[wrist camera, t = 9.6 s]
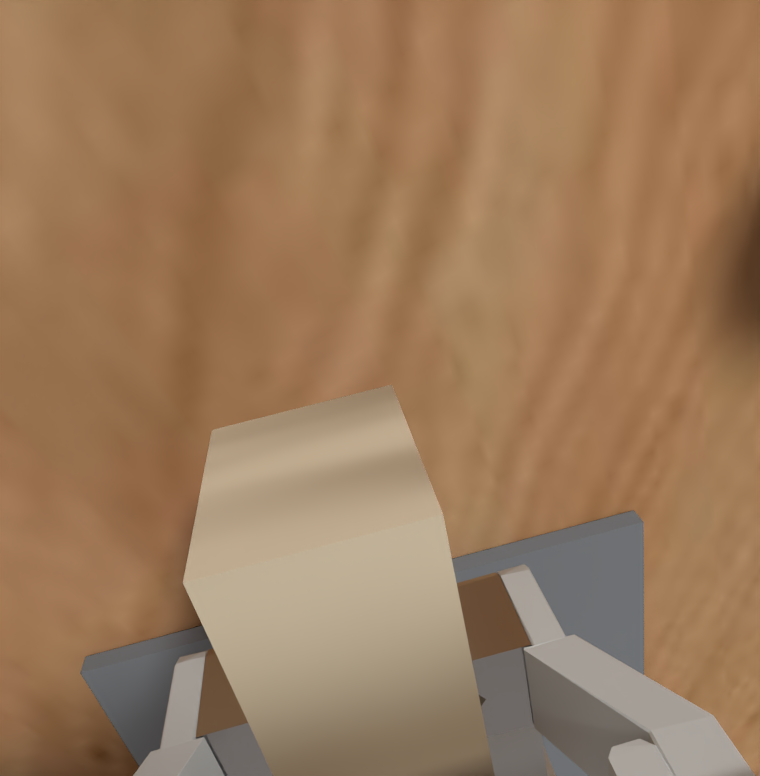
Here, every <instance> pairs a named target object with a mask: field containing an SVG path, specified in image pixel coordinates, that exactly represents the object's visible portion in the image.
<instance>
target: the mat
mask: <svg viewBox="0 0 760 776" xmlns="http://www.w3.org/2000/svg"><path fill="white" fill-rule="evenodd" d="M452 563H453V568H454V573H455V578H456V583H459V582H462V581H466V580H470V579H473V578H477V577H480V576H484V575H487V574H491V573H494V572H496V573H497V572H498V571H502V570H505V569H509V568H512V567H516V566H519V565H523V564H525V565H526V566H527V567H529V569H530V571H531V573H532V575H533V576H534V578H535V580H536V582H537V584H538V586H539V588H540V589H541V591H542V593H543V595H544V597H545V599H546V601H547V602H548V604H549V606H550V608H551V610H552V612H553V614H554V615H555V617H556V619H557V621H558V623H559V625H560V627H561V628H562V630H563V632H564V634H565V636H570V635H574V634H575V635H576V636H578V637H580V638H582V639H583V640H585V641H587V642H588V643H590V644H592V645H594V646H595V647H597V648H599V649H600V650H602V651H604V652H605V653H607V654H609V655H611V656H612V657H614V658H616V659H617V660H619V661H621V662H623V663H624V664H626V665H628V666H629V667H631V668H633V669H635V670H636V671H638V672H640V673H641V674H643V675H644V542H643V521H642V520H641V518H640V517H639V516H638V515H637V514H636V513H635V511H634V510H633V511H630V512H626V513H622V514H618V515H615V516H611V517H607V518H603V519H600V520H596V521H592V522H588V523H585V524H581V525H577V526H573V527H570V528H566V529H562V530H558V531H555V532H551V533H547V534H543V535H540V536H536V537H532V538H528V539H525V540H521V541H517V542H513V543H510V544H506V545H502V546H499V547H495V548H491V549H487V550H484V551H480V552H476V553H472V554H469V555H465V556H461V557H457V558H454V559H452ZM209 649H213V646H212V644H211V642H210V640H209V638H208V636H207V634H206V632H205V629H204V627H203V626H199V627H195V628H192V629H188V630H184V631H180V632H177V633H173V634H169V635H165V636H162V637H158V638H154V639H150V640H147V641H143V642H139V643H135V644H132V645H128V646H124V647H121V648H117V649H113V650H109V651H106V652H102V653H98V654H94V655H91V656H87V657H85V660H84V663H83V666H82V670H81V675H82V676H83V678H84V680H85V681H86V683H87V684H88V686H89V688H90V689H91V691H92V692H93V694H94V696H95V697H96V699H97V700H98V702H99V703H100V705H101V707H102V708H103V710H104V711H105V713H106V715H107V716H108V718H109V719H110V721H111V723H112V724H113V726H114V727H115V729H116V731H117V732H118V734H119V735H120V737H121V739H122V740H123V742H124V743H125V745H126V747H127V748H128V750H129V751H130V753H131V754H132V756H133V758H134V759H135V761H136V762H137V764H138V766H139V767H140V765H141V764H142V763H143V761H144V760H145V759H146V757H147V756H148V755H149V753H150V752H151V751H155V750H158V749H160V745H161V739H162V733H163V728H164V722H165V717H166V711H167V705H168V700H169V694H170V689H171V683H172V677H173V672H174V666H175V665H176V663H177V661H178V659H179V657H182V656H187V655H191V654H195V653H199V652H203V651H207V650H209ZM542 739H543V745H544V747H545V750H546V752H547V755H548V757H549V760H550V762H551V765H552V767H553V770H554V772H555V775H556V776H589V775H588V774H587V773H585V772H584V771H583V770H582V769H581V768H580V767H578V766H577V765H576V764H575V763H574V762H573V761H572V760H570V759H569V758H568V757H567V756H566V755H565V754H564V753H562V752H561V751H560V750H559V749H558V748H557V747H556V746H554V745H553V744H552V743H551V742H550V741H549V740H548V739H546V738H545V737H544V736H543V735H542Z"/></svg>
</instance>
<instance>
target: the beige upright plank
mask: <svg viewBox="0 0 760 776" xmlns="http://www.w3.org/2000/svg"><path fill="white" fill-rule="evenodd" d="M183 585H184V587H185V589H186V591H187V593H188V595H189V597H190V600H191V602H192V604H193V606H194V608H195V610H196V612H197V614H198V617H199V619H200V621H201V623H202V625H203V627H204V629H205V632H206V634H207V636H208V638H209V640H210V642H211V644H212V646H213V649H214V651H215V653H216V655H217V657H218V659H219V661H220V664H221V666H222V668H223V670H224V672H225V674H226V676H227V678H228V681H229V683H230V685H231V687H232V689H233V691H234V693H235V696H236V698H237V700H238V702H239V704H240V706H241V708H242V710H243V713H244V715H245V717H246V719H247V721H248V723H249V725H250V728H251V730H252V732H253V734H254V736H255V738H256V740H257V742H258V745H259V747H260V749H261V751H262V753H263V755H264V757H265V760H266V762H267V764H268V766H269V768H270V770H271V772H272V774H273V776H547V769H546V761H545V754H544V746H543V739H542V734H541V733H540V732H538V731H537V730H536V729H535V727H534V726H530V727H526V728H522V729H518V730H514V731H510V732H506V733H502V734H498V735H494V736H490V737H487V735H486V730H485V724H484V719H483V714H482V709H481V704H480V699H479V694H478V689H477V684H476V679H475V674H474V669H473V664H472V659H471V654H470V649H469V644H468V638H467V633H466V628H465V623H464V618H463V613H462V608H461V603H460V598H459V593H458V588H457V583H456V578H455V573H454V568H453V563H452V558H451V552H450V547H449V542H448V537H447V532H446V527H445V522H444V517H443V513H442V511H441V508H440V506H439V503H438V501H437V498H436V496H435V493H434V490H433V488H432V485H431V483H430V480H429V478H428V475H427V473H426V470H425V468H424V465H423V463H422V460H421V458H420V455H419V452H418V450H417V447H416V445H415V442H414V440H413V437H412V435H411V432H410V430H409V427H408V425H407V422H406V419H405V417H404V414H403V412H402V409H401V407H400V404H399V402H398V399H397V397H396V394H395V392H394V389H393V387H392V385H388V386H384V387H380V388H377V389H373V390H369V391H365V392H361V393H357V394H353V395H349V396H345V397H341V398H337V399H333V400H329V401H325V402H321V403H317V404H313V405H309V406H305V407H301V408H297V409H294V410H290V411H286V412H282V413H278V414H274V415H270V416H266V417H262V418H258V419H254V420H250V421H246V422H242V423H238V424H234V425H230V426H226V427H222V428H218V429H214V430H212V433H211V438H210V443H209V449H208V454H207V459H206V464H205V470H204V475H203V480H202V485H201V491H200V496H199V501H198V506H197V512H196V517H195V522H194V527H193V532H192V538H191V543H190V548H189V553H188V559H187V564H186V569H185V574H184V580H183Z"/></svg>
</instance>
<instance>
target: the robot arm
mask: <svg viewBox="0 0 760 776" xmlns="http://www.w3.org/2000/svg"><path fill="white" fill-rule="evenodd" d="M457 588H458V593H459V598H460V603H461V608H462V613H463V618H464V623H465V628H466V633H467V638H468V644H469V649H470V654H471V659H472V664H473V669H474V674H475V679H476V684H477V689H478V694H479V699H480V704H481V709H482V714H483V719H484V724H485V730H486V735H487V737H490V736H494V735H498V734H502V733H506V732H510V731H514V730H518V729H522V728H526V727H530V726H534V727H535V729H536V730H537V731H538V732H540V733H541V734H542V735H543V736H544V737H545V738H546V739H548V740H549V741H550V742H551V743H552V744H553V745H554V746H556V747H557V748H558V749H559V750H560V751H561V752H562V753H564V754H565V755H566V756H567V757H568V758H569V759H570V760H572V761H573V762H574V763H575V764H576V765H577V766H578V767H580V768H581V769H582V770H583V771H584V772H585V773H587V774H588V775H589V776H755V774H754V773H753V771H752V770H751V769H750V767H749V766H748V764H747V763H746V761H745V760H744V759H743V757H742V756H741V754H740V753H739V751H738V750H737V749H736V747H735V746H734V744H733V743H732V741H731V740H730V739H729V737H728V736H727V734H726V733H725V731H724V730H723V729H722V727H721V726H720V724H719V723H718V721H717V720H716V719H715V717H714V716H713V715H712V714H710V713H708V712H706V711H705V710H703V709H701V708H700V707H698V706H696V705H694V704H693V703H691V702H689V701H688V700H686V699H684V698H682V697H681V696H679V695H677V694H676V693H674V692H672V691H670V690H669V689H667V688H665V687H664V686H662V685H660V684H659V683H657V682H655V681H653V680H652V679H650V678H648V677H647V676H645V675H643V674H641V673H640V672H638V671H636V670H635V669H633V668H631V667H629V666H628V665H626V664H624V663H623V662H621V661H619V660H617V659H616V658H614V657H612V656H611V655H609V654H607V653H605V652H604V651H602V650H600V649H599V648H597V647H595V646H594V645H592V644H590V643H588V642H587V641H585V640H583V639H582V638H580V637H578V636H576V635H575V634H574V635H570V636H565V634H564V632H563V630H562V628H561V627H560V625H559V623H558V621H557V619H556V617H555V615H554V614H553V612H552V610H551V608H550V606H549V604H548V602H547V601H546V599H545V597H544V595H543V593H542V591H541V589H540V588H539V586H538V584H537V582H536V580H535V578H534V576H533V575H532V573H531V571H530V569H529V567H527V566H526V565H525V564H523V565H519V566H516V567H512V568H509V569H505V570H502V571H498V572H497V573H496V572H494V573H491V574H487V575H484V576H480V577H477V578H473V579H470V580H466V581H462V582H459V583H457ZM133 776H273V774H272V772H271V770H270V768H269V766H268V764H267V762H266V760H265V757H264V755H263V753H262V751H261V749H260V747H259V745H258V742H257V740H256V738H255V736H254V734H253V732H252V730H251V728H250V725H249V723H248V721H247V719H246V717H245V715H244V713H243V710H242V708H241V706H240V704H239V702H238V700H237V698H236V696H235V693H234V691H233V689H232V687H231V685H230V683H229V681H228V678H227V676H226V674H225V672H224V670H223V668H222V666H221V664H220V661H219V659H218V657H217V655H216V653H215V651H214V649H209V650H207V651H203V652H199V653H195V654H191V655H187V656H182V657H179V659H178V661H177V663H176V665H175V666H174V672H173V677H172V683H171V689H170V694H169V700H168V705H167V711H166V717H165V722H164V728H163V733H162V739H161V745H160V749H158V750H155V751H151V752H150V753H149V755H148V756H147V757H146V759H145V760H144V761H143V763H142V764H141V765H140V767H139V768H138V769H137V771H136V772H135V773H134V775H133Z"/></svg>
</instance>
